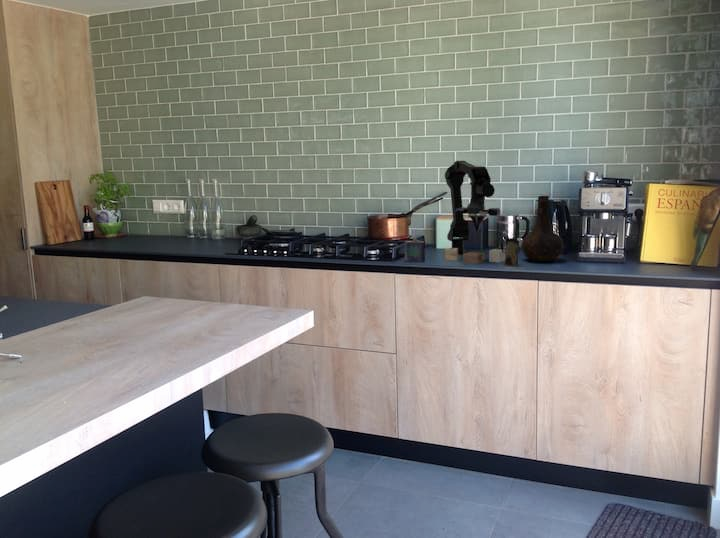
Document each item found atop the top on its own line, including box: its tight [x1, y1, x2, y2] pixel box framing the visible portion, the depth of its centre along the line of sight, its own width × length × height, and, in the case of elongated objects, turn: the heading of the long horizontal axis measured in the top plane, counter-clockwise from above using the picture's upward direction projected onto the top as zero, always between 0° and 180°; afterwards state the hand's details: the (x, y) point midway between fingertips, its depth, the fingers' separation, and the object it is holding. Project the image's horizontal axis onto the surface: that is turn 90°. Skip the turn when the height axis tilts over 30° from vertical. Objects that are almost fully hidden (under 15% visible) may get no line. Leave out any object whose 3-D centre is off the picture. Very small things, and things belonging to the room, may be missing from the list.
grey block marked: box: [488, 248, 506, 264], centre depth 292 cm, size 5×5×5 cm
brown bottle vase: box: [521, 195, 565, 263], centre depth 288 cm, size 18×18×28 cm
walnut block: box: [462, 251, 486, 265], centre depth 291 cm, size 7×7×4 cm
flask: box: [404, 237, 426, 263], centre depth 296 cm, size 9×3×11 cm, turn 65°
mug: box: [500, 235, 519, 267], centre depth 281 cm, size 8×6×12 cm
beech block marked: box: [444, 247, 459, 262], centre depth 299 cm, size 5×5×5 cm
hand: (477, 231), depth 295 cm, fingers closed
